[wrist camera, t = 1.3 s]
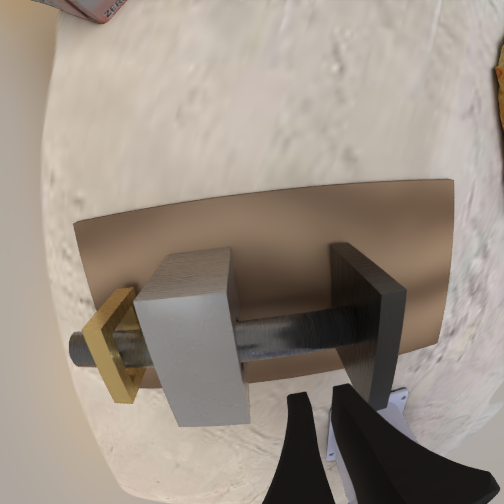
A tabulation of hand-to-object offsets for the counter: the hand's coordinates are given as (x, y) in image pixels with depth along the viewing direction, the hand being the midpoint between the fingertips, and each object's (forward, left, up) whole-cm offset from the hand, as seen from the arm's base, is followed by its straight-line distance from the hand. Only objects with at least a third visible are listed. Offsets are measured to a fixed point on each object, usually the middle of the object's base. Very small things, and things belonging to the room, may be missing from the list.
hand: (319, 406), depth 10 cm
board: (0, 0, -10) cm, 10 cm away
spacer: (0, +10, -9) cm, 13 cm away
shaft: (0, +4, -9) cm, 10 cm away
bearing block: (0, +5, -10) cm, 12 cm away
